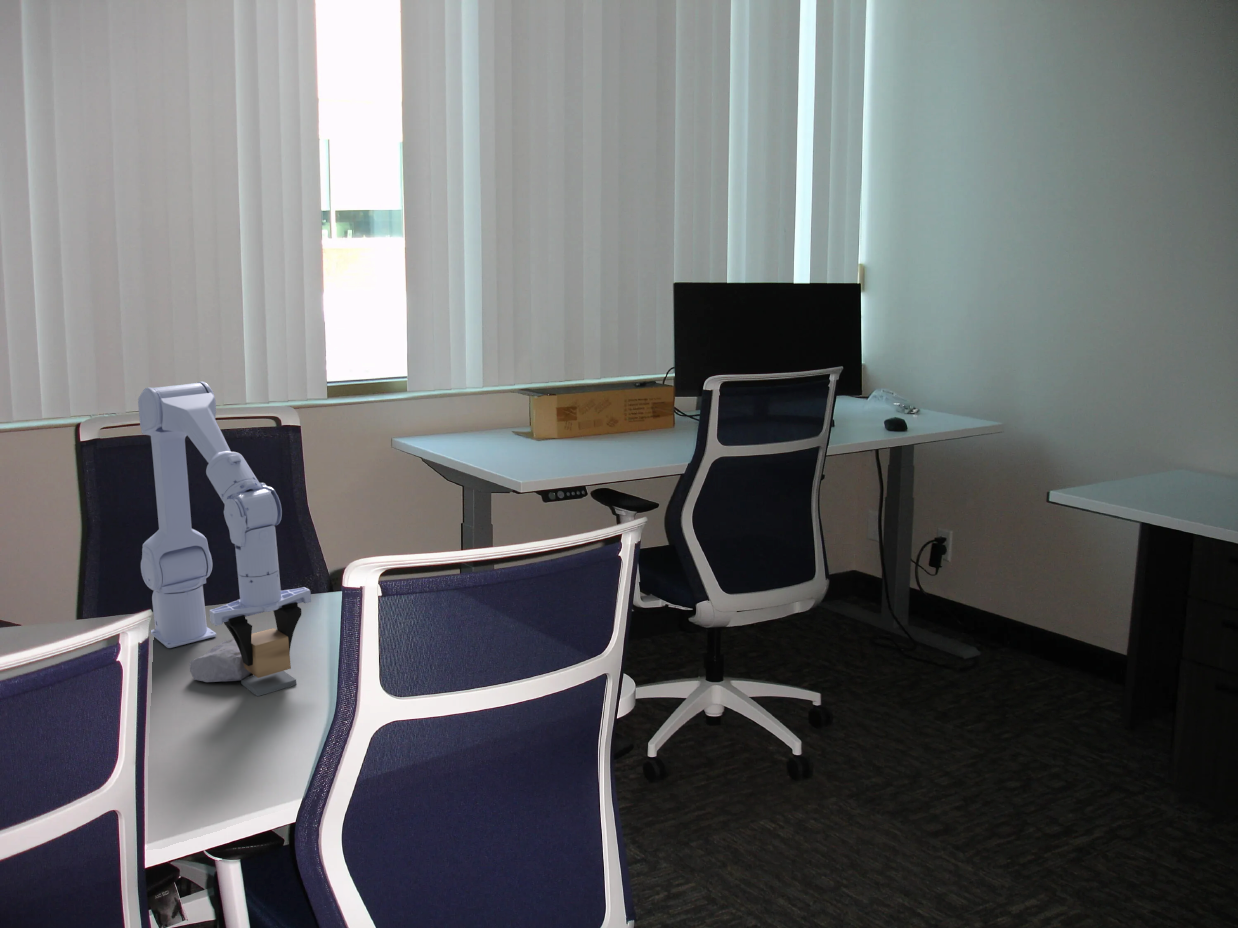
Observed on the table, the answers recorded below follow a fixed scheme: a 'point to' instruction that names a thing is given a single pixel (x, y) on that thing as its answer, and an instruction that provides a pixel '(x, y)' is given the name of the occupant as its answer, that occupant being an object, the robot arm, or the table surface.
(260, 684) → the charcoal pad
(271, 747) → the table surface
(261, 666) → the tan cube
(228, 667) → the stone block
